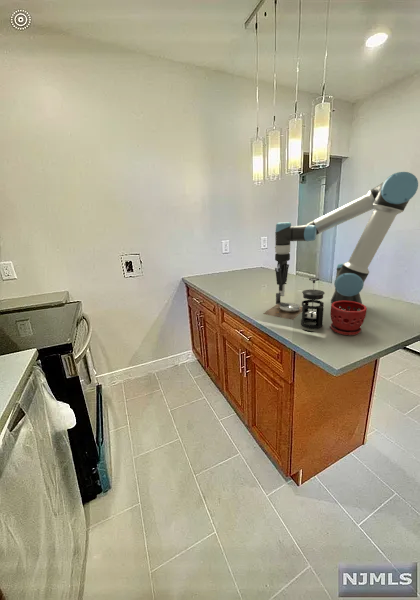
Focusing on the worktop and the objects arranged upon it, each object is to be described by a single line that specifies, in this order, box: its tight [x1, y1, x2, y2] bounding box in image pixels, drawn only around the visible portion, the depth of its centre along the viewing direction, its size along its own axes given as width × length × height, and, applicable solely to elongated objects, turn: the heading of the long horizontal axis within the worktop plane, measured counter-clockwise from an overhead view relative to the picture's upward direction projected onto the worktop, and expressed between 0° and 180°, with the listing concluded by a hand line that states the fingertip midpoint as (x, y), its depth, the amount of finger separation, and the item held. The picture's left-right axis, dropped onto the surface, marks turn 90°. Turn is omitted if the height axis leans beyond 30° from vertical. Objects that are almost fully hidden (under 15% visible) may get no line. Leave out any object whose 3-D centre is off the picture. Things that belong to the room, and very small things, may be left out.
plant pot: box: [330, 301, 368, 336], centre depth 105 cm, size 13×13×12 cm
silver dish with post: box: [275, 292, 301, 313], centre depth 131 cm, size 13×10×8 cm
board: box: [263, 303, 302, 321], centre depth 131 cm, size 16×19×2 cm
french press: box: [300, 277, 326, 333], centre depth 109 cm, size 12×9×23 cm
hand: (281, 295), depth 138 cm, fingers closed
